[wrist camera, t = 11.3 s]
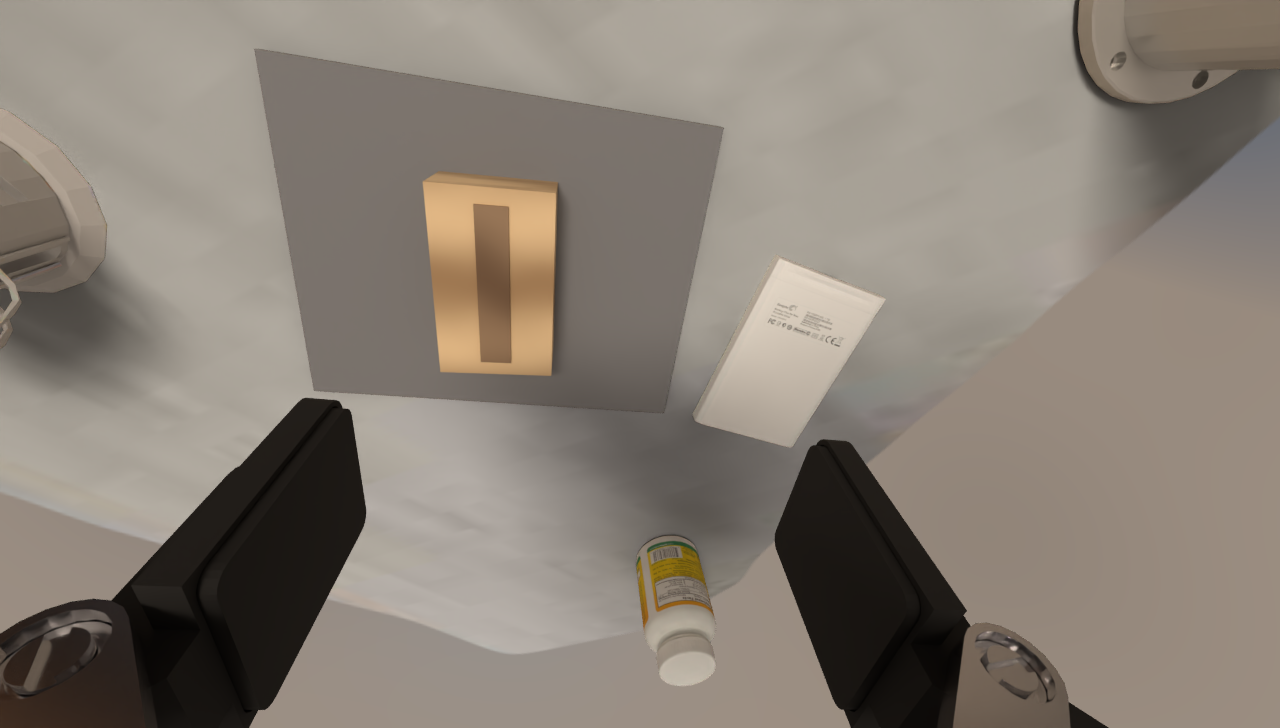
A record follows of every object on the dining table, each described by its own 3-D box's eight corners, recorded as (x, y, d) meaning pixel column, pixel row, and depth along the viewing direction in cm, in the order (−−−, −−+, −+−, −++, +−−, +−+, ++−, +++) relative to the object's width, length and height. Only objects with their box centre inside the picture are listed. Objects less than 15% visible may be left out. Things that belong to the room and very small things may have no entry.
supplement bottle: (662, 524, 41) (685, 636, 33) (709, 548, 43) (742, 660, 35) (621, 563, 43) (633, 679, 34) (668, 584, 45) (690, 699, 36)
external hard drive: (690, 409, 36) (771, 251, 31) (785, 436, 39) (876, 292, 34) (694, 422, 35) (781, 259, 30) (793, 449, 37) (889, 301, 32)
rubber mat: (720, 126, 27) (723, 127, 26) (662, 406, 35) (663, 413, 35) (264, 49, 23) (254, 48, 22) (319, 383, 31) (313, 390, 31)
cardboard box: (553, 350, 31) (551, 377, 28) (452, 345, 30) (439, 373, 27) (557, 182, 27) (555, 193, 24) (439, 171, 26) (421, 181, 23)
